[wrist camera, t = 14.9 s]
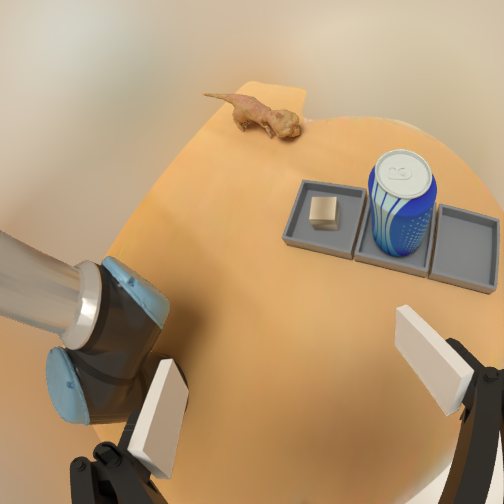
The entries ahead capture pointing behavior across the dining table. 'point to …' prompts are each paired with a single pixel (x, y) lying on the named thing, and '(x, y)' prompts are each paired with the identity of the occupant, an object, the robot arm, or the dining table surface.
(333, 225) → the beige cube
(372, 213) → the beer can
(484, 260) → the tray
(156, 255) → the dining table surface
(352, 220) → the tray
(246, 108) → the toy
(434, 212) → the tray middle
